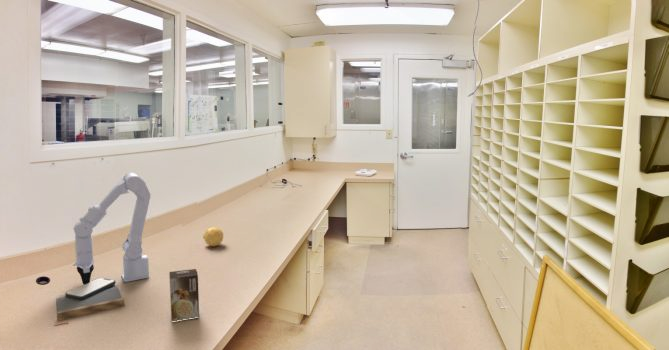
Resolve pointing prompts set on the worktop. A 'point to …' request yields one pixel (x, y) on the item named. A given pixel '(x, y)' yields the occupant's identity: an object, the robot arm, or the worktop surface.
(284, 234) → the worktop surface
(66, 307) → the mat
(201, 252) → the worktop surface
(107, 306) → the back rail
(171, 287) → the coffee box
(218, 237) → the stress ball
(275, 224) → the worktop surface
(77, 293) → the phone case
